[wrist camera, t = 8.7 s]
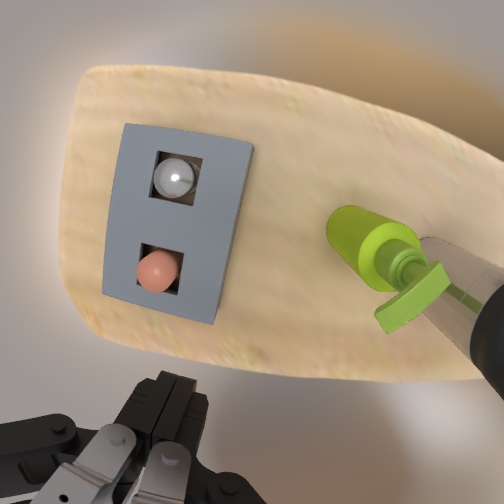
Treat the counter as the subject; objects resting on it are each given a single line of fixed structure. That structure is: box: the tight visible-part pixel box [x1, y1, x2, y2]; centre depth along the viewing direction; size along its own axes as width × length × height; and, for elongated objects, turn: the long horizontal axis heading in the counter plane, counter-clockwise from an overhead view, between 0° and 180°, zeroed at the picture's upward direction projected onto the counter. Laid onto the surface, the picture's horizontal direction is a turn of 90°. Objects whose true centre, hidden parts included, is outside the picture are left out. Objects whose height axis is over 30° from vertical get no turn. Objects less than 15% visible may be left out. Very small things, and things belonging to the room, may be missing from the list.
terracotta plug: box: [136, 247, 183, 293], centre depth 33 cm, size 4×4×5 cm
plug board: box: [102, 123, 254, 325], centre depth 34 cm, size 14×20×5 cm
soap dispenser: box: [326, 206, 451, 333], centre depth 26 cm, size 6×7×20 cm
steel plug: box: [154, 158, 200, 198], centre depth 32 cm, size 4×4×5 cm
